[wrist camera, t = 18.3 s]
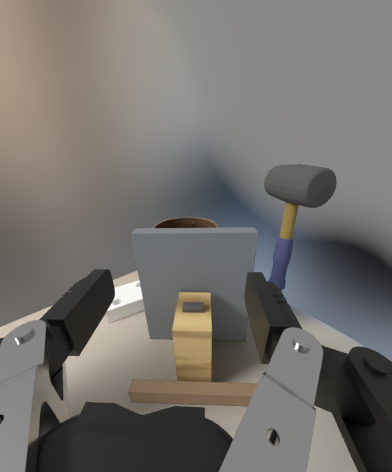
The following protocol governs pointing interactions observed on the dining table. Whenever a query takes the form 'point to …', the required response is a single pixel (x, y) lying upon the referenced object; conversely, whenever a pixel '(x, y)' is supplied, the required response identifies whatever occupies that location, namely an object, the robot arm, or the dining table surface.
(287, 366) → the robot arm
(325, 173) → the rubber mallet
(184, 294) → the ochre block
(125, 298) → the bracket
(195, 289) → the wall board
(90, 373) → the dining table surface
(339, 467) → the dining table surface
